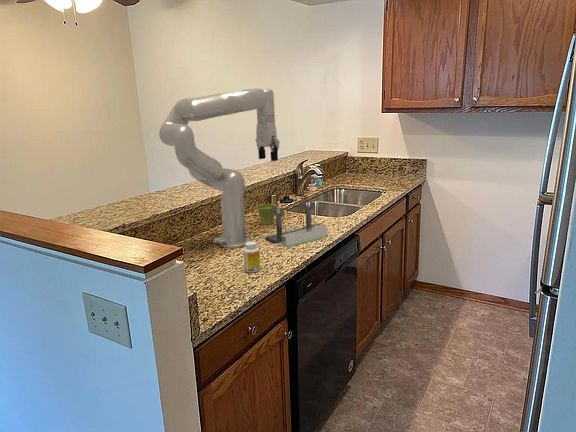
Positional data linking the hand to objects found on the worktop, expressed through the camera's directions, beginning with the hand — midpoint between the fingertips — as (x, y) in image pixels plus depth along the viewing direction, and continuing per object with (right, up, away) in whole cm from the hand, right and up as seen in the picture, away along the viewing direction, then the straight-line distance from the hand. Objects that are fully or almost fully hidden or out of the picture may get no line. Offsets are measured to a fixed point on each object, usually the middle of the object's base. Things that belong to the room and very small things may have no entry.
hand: (268, 159), depth 192 cm
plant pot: (-1, -28, +24) cm, 37 cm away
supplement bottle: (-4, -44, -34) cm, 56 cm away
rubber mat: (+16, -35, -4) cm, 38 cm away
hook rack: (+12, -33, +3) cm, 35 cm away
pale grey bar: (+16, -34, -4) cm, 38 cm away
